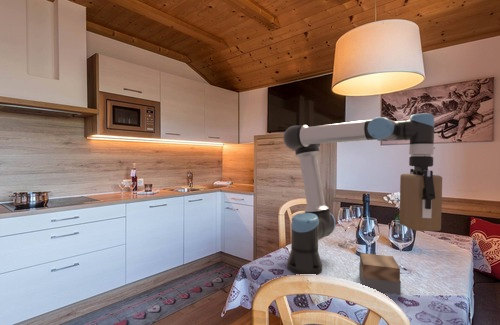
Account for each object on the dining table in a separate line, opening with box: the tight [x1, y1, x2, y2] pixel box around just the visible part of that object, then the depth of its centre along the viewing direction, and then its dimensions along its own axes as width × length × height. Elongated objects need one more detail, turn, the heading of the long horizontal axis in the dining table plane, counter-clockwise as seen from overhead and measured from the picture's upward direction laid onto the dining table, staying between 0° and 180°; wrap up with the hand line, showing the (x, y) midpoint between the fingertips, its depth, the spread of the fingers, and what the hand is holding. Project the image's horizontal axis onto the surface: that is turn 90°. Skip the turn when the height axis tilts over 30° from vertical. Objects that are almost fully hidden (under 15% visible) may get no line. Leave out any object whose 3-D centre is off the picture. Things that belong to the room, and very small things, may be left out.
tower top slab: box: [359, 252, 401, 282], centre depth 101 cm, size 12×12×5 cm
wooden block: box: [398, 173, 443, 232], centre depth 98 cm, size 10×10×20 cm
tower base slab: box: [358, 264, 402, 295], centre depth 102 cm, size 12×12×5 cm
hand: (419, 214), depth 99 cm, fingers closed on wooden block, 11 cm apart
